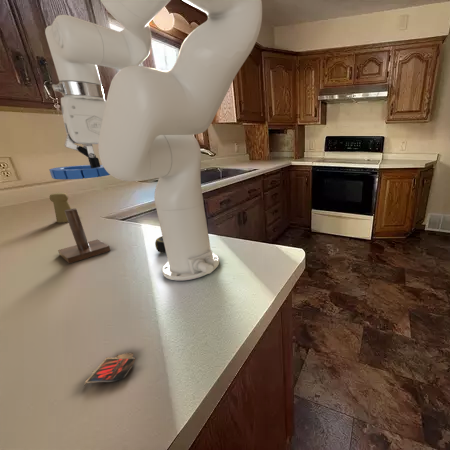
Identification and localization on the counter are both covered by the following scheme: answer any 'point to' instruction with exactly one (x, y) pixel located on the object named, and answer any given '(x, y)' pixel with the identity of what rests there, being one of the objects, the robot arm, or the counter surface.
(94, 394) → the counter surface
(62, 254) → the stand
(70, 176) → the tape roll
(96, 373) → the matchbox
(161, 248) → the tape measure
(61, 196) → the cork
